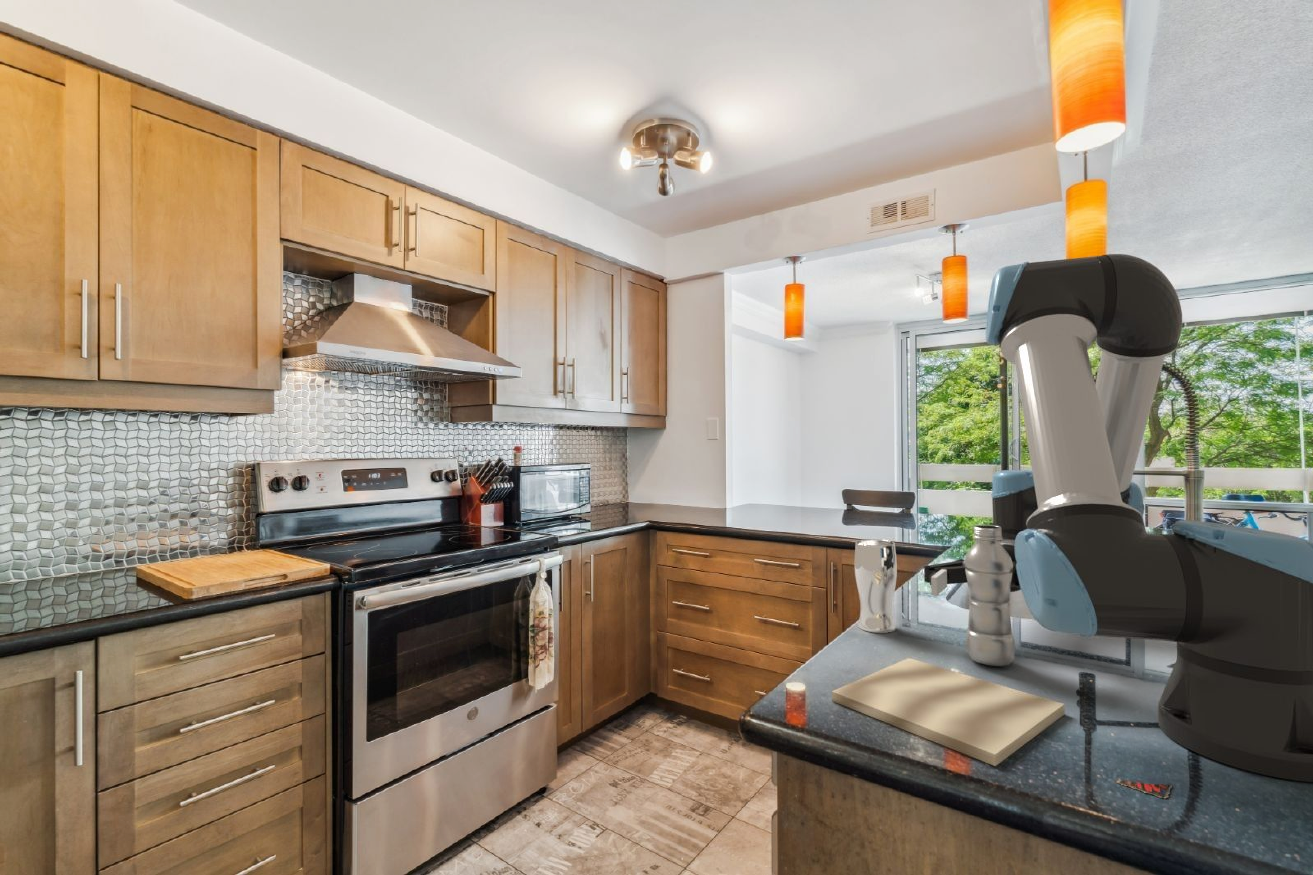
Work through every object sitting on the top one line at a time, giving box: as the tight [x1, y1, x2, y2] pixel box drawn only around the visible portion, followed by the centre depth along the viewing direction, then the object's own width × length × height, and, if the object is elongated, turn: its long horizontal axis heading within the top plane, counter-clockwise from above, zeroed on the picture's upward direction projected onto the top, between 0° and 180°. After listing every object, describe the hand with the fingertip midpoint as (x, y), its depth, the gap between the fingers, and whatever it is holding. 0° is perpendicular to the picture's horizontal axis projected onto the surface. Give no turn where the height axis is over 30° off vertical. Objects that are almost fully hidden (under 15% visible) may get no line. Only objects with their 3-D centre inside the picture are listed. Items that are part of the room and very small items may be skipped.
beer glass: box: [854, 538, 898, 634], centre depth 106 cm, size 7×7×15 cm
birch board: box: [831, 657, 1065, 767], centre depth 75 cm, size 20×18×1 cm
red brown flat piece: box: [1116, 772, 1173, 799], centre depth 59 cm, size 5×5×1 cm
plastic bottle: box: [963, 524, 1017, 667], centre depth 89 cm, size 6×7×20 cm
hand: (984, 592), depth 87 cm, fingers open, 13 cm apart
